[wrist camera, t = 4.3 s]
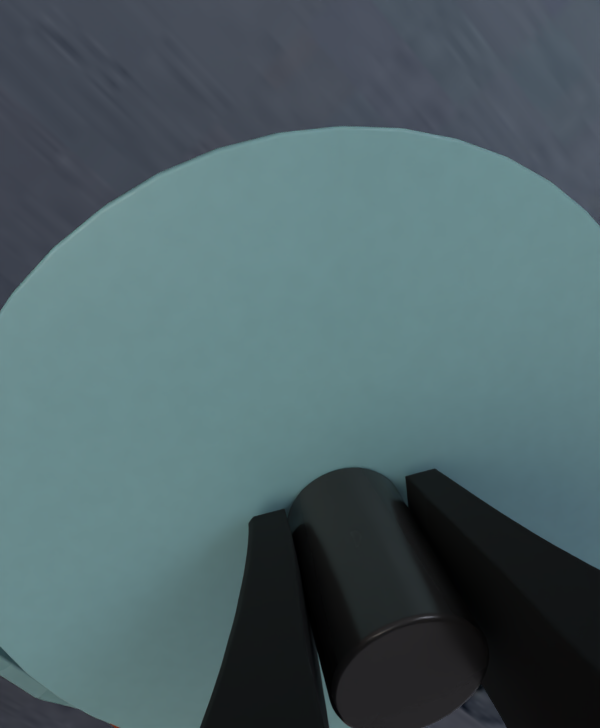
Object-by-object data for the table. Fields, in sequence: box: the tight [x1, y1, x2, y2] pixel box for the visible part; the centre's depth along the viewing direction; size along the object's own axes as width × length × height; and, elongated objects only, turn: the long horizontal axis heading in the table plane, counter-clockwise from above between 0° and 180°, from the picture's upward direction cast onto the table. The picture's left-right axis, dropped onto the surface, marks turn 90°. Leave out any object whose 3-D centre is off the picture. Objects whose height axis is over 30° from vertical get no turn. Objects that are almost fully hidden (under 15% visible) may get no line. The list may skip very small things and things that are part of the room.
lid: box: [0, 126, 600, 728], centre depth 10 cm, size 14×14×5 cm
